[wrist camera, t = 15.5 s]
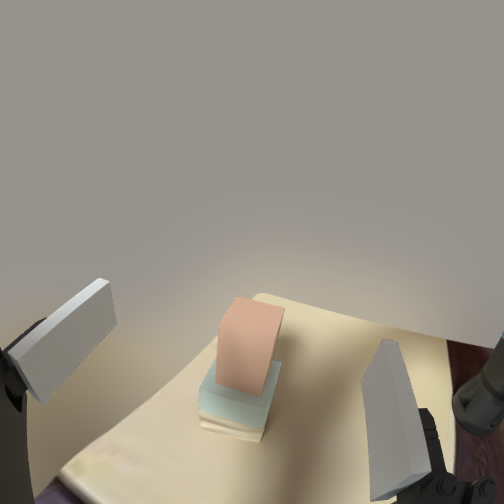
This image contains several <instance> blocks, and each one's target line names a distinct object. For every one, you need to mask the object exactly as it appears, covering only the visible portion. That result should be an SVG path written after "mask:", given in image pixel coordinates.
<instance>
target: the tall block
mask: <svg viewBox="0 0 504 504" xmlns="http://www.w3.org/2000/svg"><path fill="white" fill-rule="evenodd" d="M284 310H285V308H282V307H278V306H274V305H270V304H266V303H262V302H258V301H254V300H250V299H246V298H242V297H238V296H237V297H236V298H235V300H234V301H233V303H232V304H231V306H230V307H229V309H228V311H227V312H226V314H225V315H224V317H223V318H222V320H221V321H220V323H219V333H218V346H217V360H216V374H215V383H216V384H219V385H223V386H226V387H229V388H232V389H236V390H239V391H242V392H246V393H249V394H253V395H257V396H260V397H261V394H262V391H263V388H264V385H265V382H266V379H267V376H268V373H269V370H270V366H271V363H272V359H273V355H274V351H275V347H276V343H277V339H278V335H279V331H280V327H281V322H282V318H283V314H284Z"/></svg>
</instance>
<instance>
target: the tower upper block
mask: <svg viewBox="0 0 504 504" xmlns="http://www.w3.org/2000/svg"><path fill="white" fill-rule="evenodd" d="M216 360H217V357H216V359H215V360H214V362H213V364H212V366H211V368H210V369H209V371H208V373H207V375H206V377H205V378H204V380H203V382H202V384H201V386H200V387H199V410H201V411H204V412H207V413H210V414H213V415H216V416H219V417H222V418H225V419H228V420H232V421H235V422H239V423H242V424H246V425H250V426H253V427H257V428H261V429H263V427H264V424H265V421H266V418H267V416H268V413H269V410H270V406H271V402H272V399H273V395H274V391H275V388H276V384H277V380H278V376H279V372H280V369H281V365H282V362H280V361H276V360H272V363H271V366H270V370H269V373H268V376H267V379H266V382H265V385H264V388H263V391H262V394H261V397H260V396H257V395H253V394H249V393H246V392H242V391H239V390H236V389H232V388H229V387H226V386H223V385H219V384H216V383H215V374H216Z"/></svg>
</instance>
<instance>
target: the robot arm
mask: <svg viewBox="0 0 504 504" xmlns="http://www.w3.org/2000/svg"><path fill="white" fill-rule="evenodd" d="M116 325H117V322H116V317H115V311H114V305H113V299H112V293H111V287H110V281H107V280H104V279H100V278H98V279H97V280H95V281H94V282H93V283H92V284H90V285H89V286H87V287H86V288H85V289H83V290H82V291H81V292H80V293H78V294H77V295H76V296H74V297H73V298H72V299H70V300H69V301H68V302H67V303H65V304H64V305H63V306H61V307H60V308H59V309H58V310H56V311H55V312H54V313H53V314H51V315H50V316H49V317H48V318H44V319H42V320H39V321H37V322H36V323H35V324H33V325H32V326H31V327H30V329H27V330H26V331H25V332H24V334H21V335H20V336H19V337H18V338H17V339H16V340H14V341H13V342H12V343H11V344H10V345H9V346H8V347H7V348H5V349H4V350H3V351H2V350H1V348H0V504H35V502H34V497H33V492H32V486H31V479H30V471H29V462H28V450H27V427H26V424H27V415H26V414H27V394H26V392H25V391H26V390H27V389H28V390H29V391H30V393H31V394H32V396H33V397H34V398H35V399H36V400H38V401H39V402H40V403H41V404H42V405H44V404H45V403H46V402H47V401H48V400H49V399H50V398H51V396H52V395H53V394H54V393H55V391H57V389H58V388H59V387H60V386H61V385H62V384H63V382H64V381H65V380H66V379H67V378H68V377H69V376H70V375H71V373H72V372H73V371H74V370H75V369H76V368H77V367H78V366H79V365H80V364H81V363H82V361H83V360H84V359H85V358H86V357H87V356H88V355H89V354H90V353H91V352H92V351H93V349H94V348H95V347H96V346H97V345H98V344H99V343H100V342H101V341H102V340H103V339H104V338H105V337H106V336H107V335H108V333H109V332H110V331H111V330H112V329H113V328H114V327H115V326H116ZM361 384H362V392H363V400H364V408H365V417H366V428H367V440H368V454H369V474H370V502H371V501H381V500H388V499H390V498H392V497H394V496H395V495H397V501H395V502H393V503H392V504H494V501H495V495H496V483H495V481H494V480H493V478H492V477H490V476H483V477H481V478H479V479H478V480H476V481H475V482H465V481H458V480H457V478H456V477H455V476H454V475H453V474H452V473H449V472H447V470H446V467H445V463H444V458H443V453H442V449H441V445H440V440H439V439H438V437H439V436H438V432H437V430H436V425H435V421H434V418H433V416H432V415H431V413H430V412H429V411H428V409H427V408H418V407H417V403H416V400H415V396H414V393H413V389H412V386H411V382H410V379H409V376H408V373H407V370H406V366H405V363H404V360H403V357H402V354H401V352H400V349H399V346H398V343H397V341H393V340H384V339H382V341H381V343H380V345H379V347H378V349H377V351H376V353H375V355H374V357H373V359H372V361H371V363H370V365H369V367H368V369H367V371H366V372H365V374H364V376H363V378H362V380H361ZM452 407H453V412H454V414H455V417H456V419H457V420H458V422H459V423H460V425H461V426H462V427H463V428H464V429H465V430H467V431H468V432H470V433H472V434H474V435H477V436H486V435H489V434H491V433H492V432H493V431H494V430H495V429H496V428H497V427H498V426H499V425H500V424H501V422H502V420H503V418H504V331H503V333H502V337H501V338H500V340H499V342H498V344H497V345H496V347H495V348H494V350H493V352H492V353H491V355H490V356H489V358H488V359H487V361H486V362H485V364H484V365H483V367H482V368H481V370H480V371H479V372H478V373H476V374H475V375H474V376H473V377H471V378H470V379H469V380H467V381H466V382H465V383H463V384H462V385H461V386H460V387H459V389H458V390H457V391H456V393H455V394H454V396H453V400H452Z"/></svg>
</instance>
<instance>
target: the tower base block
mask: <svg viewBox="0 0 504 504" xmlns="http://www.w3.org/2000/svg"><path fill="white" fill-rule="evenodd" d="M266 420H267V418H266ZM265 425H266V421H265V424H264V427H263V429H261V428H257V427H253V426H250V425H246V424H242V423H239V422H235V421H232V420H228V419H225V418H222V417H219V416H216V415H213V414H210V413H207V412H204V411H201V410H200V428H201V429H204V430H208V431H211V432H215V433H219V434H222V435H226V436H230V437H234V438H238V439H243V440H247V441H252V442H257V443H260V440H261V437H262V434H263V432H264V429H265Z"/></svg>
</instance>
